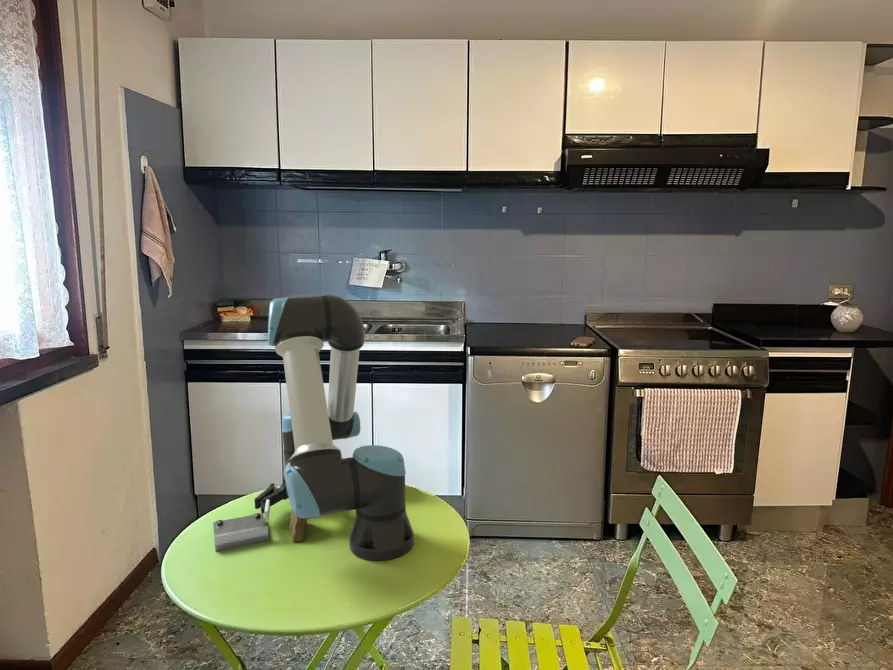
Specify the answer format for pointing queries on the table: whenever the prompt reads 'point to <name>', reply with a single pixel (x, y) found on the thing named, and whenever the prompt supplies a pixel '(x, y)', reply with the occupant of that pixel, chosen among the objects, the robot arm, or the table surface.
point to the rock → (297, 527)
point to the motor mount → (240, 531)
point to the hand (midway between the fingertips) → (295, 513)
